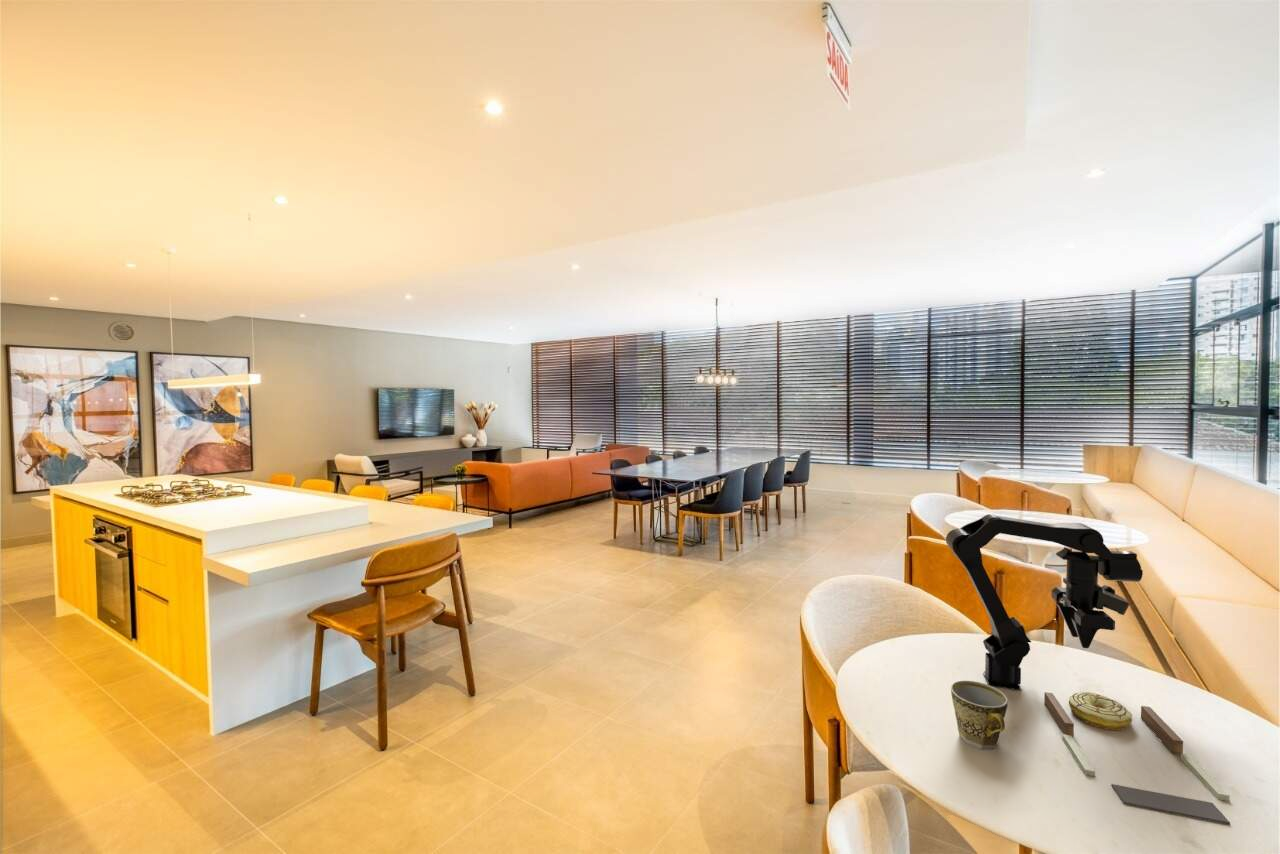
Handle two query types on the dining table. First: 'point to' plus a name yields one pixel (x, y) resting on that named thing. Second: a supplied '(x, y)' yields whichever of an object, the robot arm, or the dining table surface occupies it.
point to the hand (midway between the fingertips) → (1080, 642)
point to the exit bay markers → (1187, 759)
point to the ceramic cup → (979, 713)
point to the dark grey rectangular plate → (1170, 804)
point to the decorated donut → (1100, 711)
